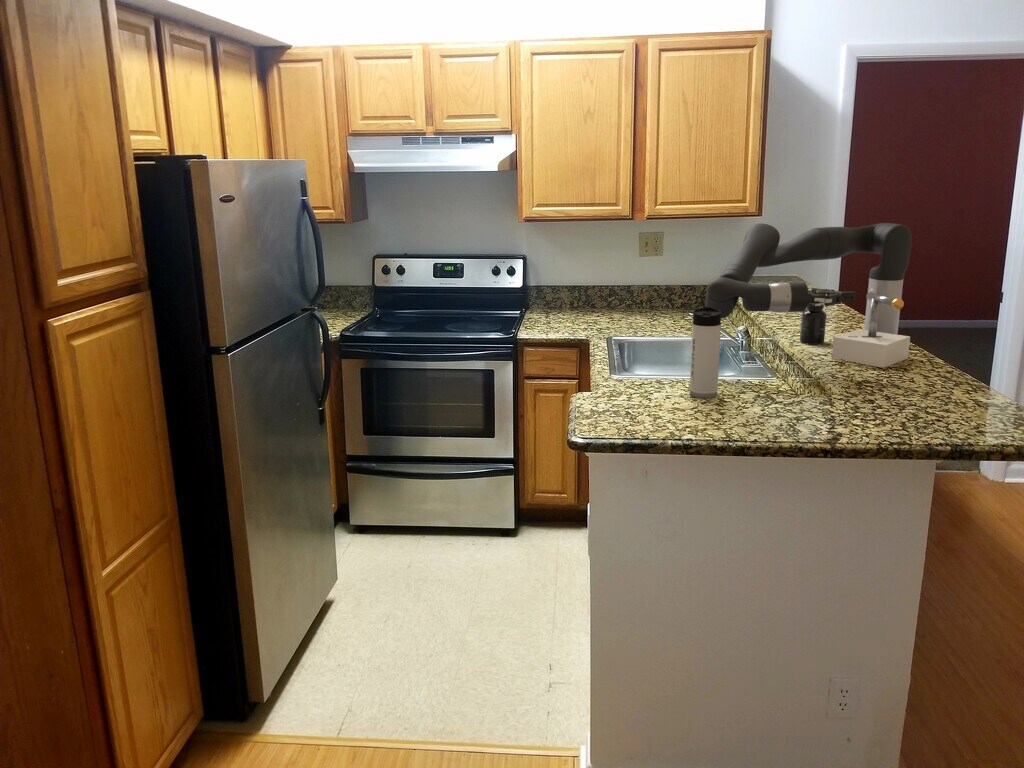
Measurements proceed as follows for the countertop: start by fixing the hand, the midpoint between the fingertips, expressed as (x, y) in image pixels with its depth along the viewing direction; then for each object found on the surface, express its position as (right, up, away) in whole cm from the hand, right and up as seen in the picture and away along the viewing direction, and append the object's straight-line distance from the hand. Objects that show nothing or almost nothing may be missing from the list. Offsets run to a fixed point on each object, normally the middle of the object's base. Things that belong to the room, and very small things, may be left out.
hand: (855, 296), depth 202 cm
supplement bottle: (+1, -10, +33) cm, 35 cm away
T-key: (+10, -10, +7) cm, 16 cm away
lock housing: (+9, -15, +13) cm, 22 cm away
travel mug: (-42, -25, -17) cm, 52 cm away
